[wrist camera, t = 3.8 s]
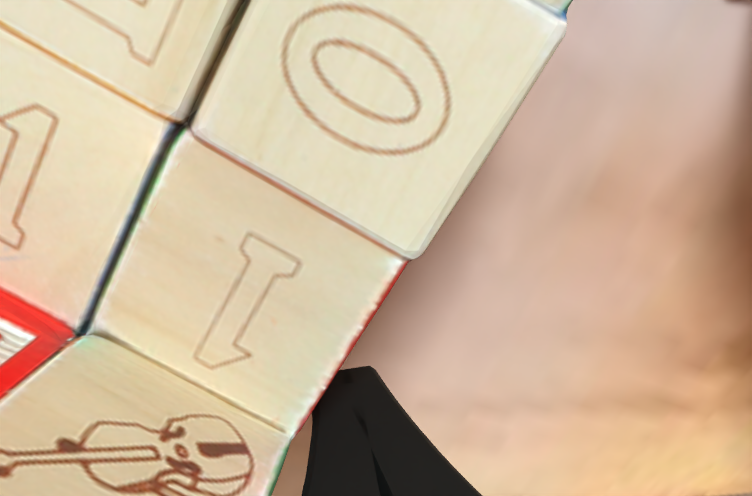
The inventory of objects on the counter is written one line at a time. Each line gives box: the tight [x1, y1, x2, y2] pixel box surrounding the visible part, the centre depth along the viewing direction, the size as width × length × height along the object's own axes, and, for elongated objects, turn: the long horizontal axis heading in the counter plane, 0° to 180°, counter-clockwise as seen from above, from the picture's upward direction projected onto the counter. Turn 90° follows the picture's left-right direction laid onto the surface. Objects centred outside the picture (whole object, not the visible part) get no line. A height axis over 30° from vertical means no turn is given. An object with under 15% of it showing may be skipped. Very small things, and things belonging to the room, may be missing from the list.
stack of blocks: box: [0, 0, 573, 496], centre depth 11 cm, size 21×6×12 cm, turn 149°
